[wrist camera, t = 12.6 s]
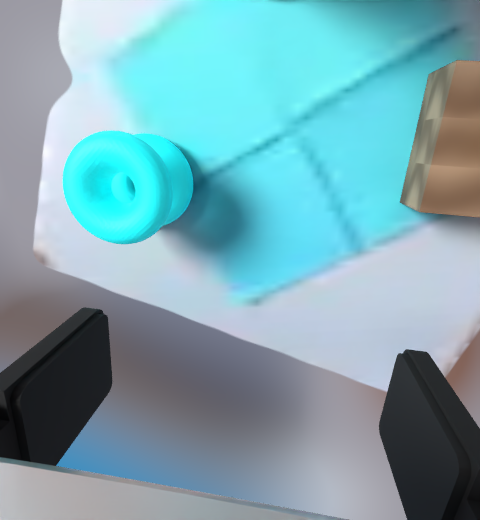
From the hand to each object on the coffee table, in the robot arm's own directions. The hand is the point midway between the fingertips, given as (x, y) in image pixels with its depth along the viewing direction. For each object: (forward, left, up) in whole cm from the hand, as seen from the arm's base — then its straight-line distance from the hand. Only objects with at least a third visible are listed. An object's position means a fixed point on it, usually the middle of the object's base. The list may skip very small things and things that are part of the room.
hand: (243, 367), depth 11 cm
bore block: (-8, +19, -28) cm, 35 cm away
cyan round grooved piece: (-2, -14, -29) cm, 32 cm away
